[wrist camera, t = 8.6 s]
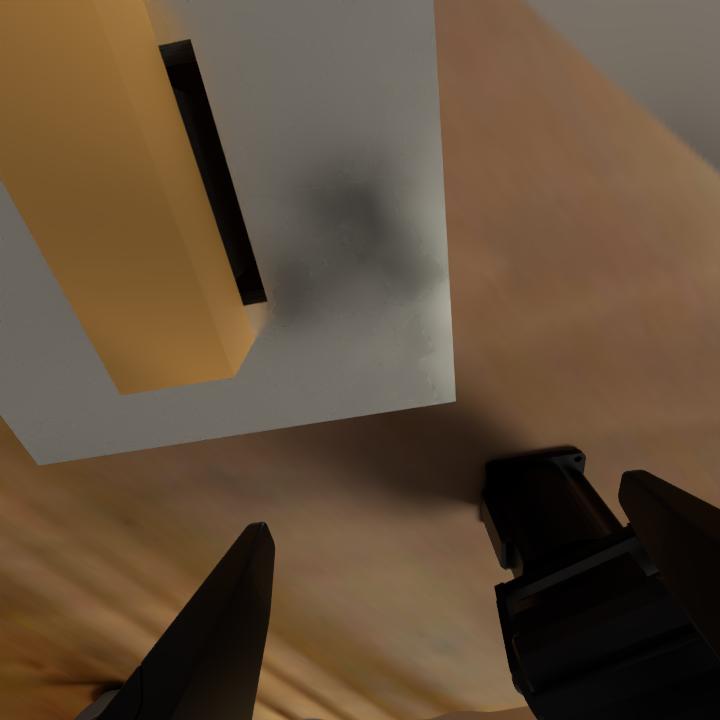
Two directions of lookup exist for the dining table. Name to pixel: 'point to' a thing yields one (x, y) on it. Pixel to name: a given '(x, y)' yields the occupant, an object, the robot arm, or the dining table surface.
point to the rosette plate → (274, 237)
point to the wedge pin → (123, 191)
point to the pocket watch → (97, 706)
